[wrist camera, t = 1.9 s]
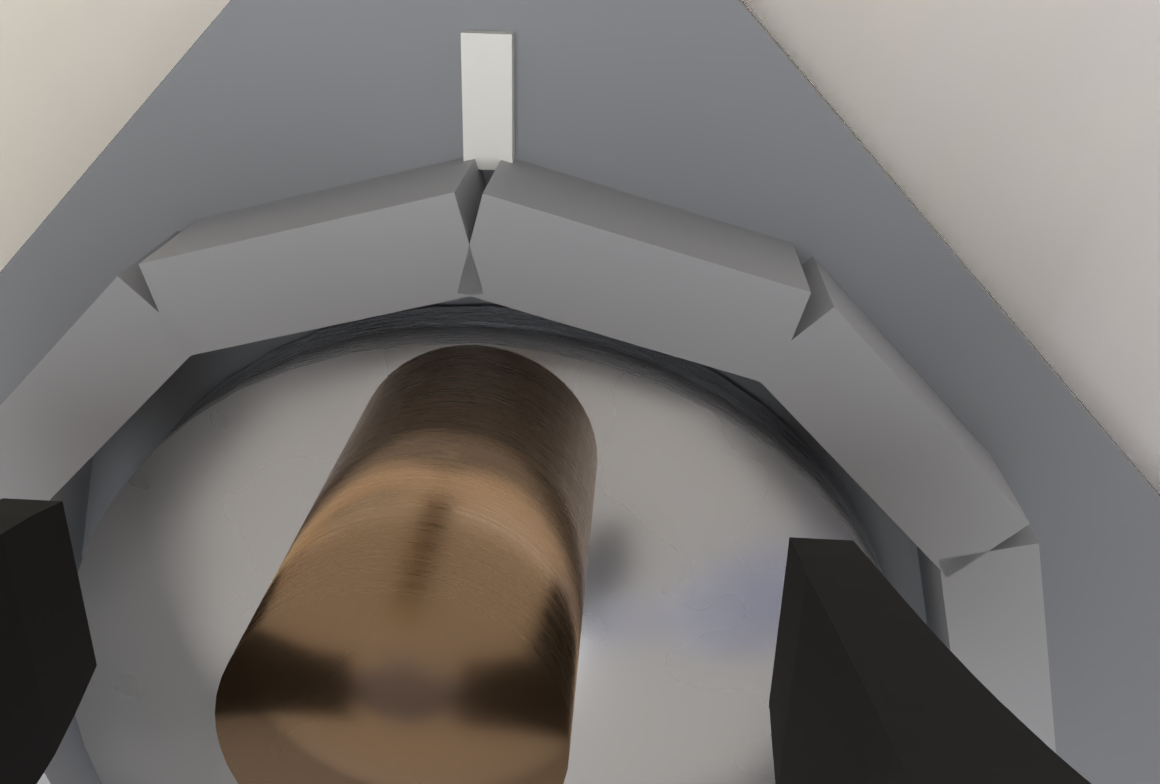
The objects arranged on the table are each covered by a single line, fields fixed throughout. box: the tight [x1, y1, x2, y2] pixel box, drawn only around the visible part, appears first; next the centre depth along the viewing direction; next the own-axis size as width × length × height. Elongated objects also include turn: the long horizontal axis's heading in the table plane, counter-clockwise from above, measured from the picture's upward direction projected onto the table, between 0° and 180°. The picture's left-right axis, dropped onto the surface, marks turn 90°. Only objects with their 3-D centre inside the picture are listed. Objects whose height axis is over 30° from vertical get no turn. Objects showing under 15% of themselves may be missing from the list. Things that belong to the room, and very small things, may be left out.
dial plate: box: [0, 0, 1160, 784], centre depth 17 cm, size 18×18×3 cm
